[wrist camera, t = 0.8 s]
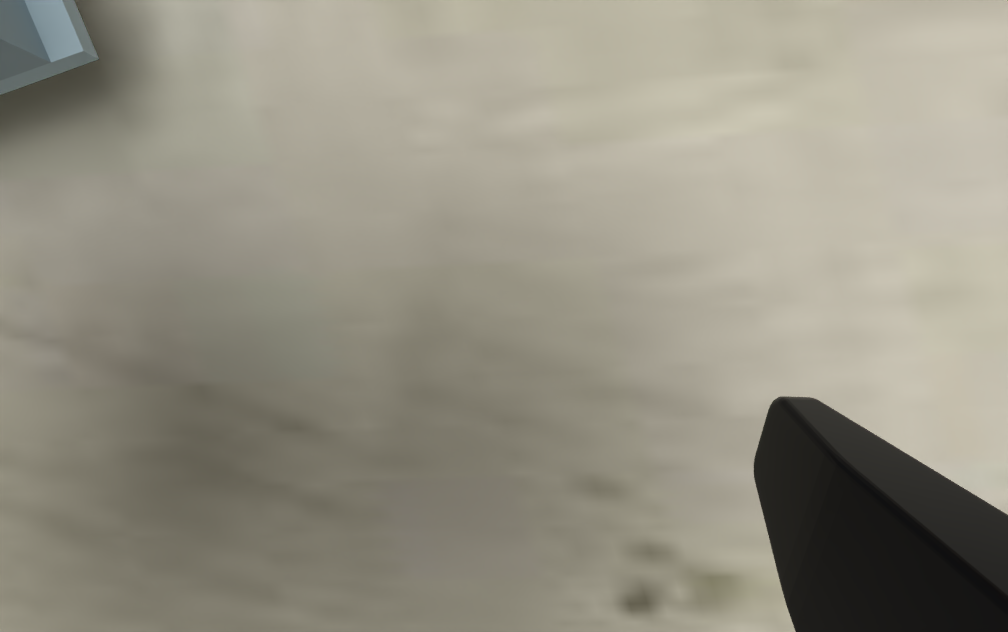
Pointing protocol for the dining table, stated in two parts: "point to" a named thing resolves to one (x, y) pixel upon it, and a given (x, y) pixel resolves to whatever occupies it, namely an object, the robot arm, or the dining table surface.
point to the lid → (40, 41)
